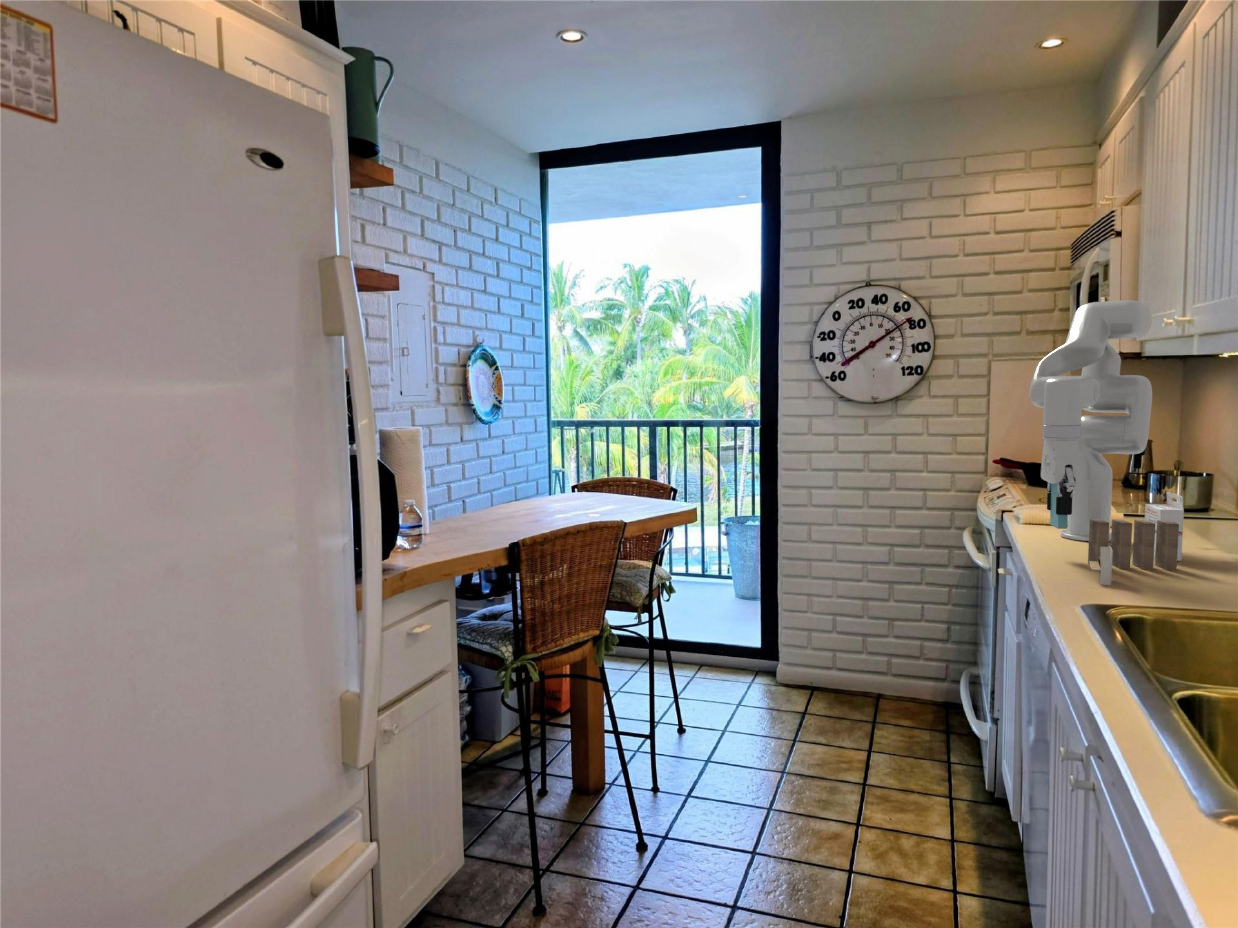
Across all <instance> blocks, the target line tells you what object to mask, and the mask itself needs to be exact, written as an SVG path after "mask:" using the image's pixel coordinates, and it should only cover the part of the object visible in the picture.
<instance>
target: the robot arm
mask: <svg viewBox="0 0 1238 928" xmlns="http://www.w3.org/2000/svg"><path fill="white" fill-rule="evenodd" d="M1152 323H1153V315H1152V311H1151V309H1150V307H1149V306H1148V305H1147V304H1146V303H1144V302H1141V301H1139V300H1133V299H1132V300H1131V299H1124V300H1120V299H1119V300H1107V301H1093V302H1088V303H1086V304H1082V305H1081V306H1079V307H1078V308H1077V309H1076V311H1075V313H1073V317H1072V320H1071V323H1070V326H1069V330H1068V334H1067V337H1066V339H1065V343H1064V344H1063V345H1061V346H1059V347H1057V348H1056V349H1054V350H1053V351H1051V352H1049V354H1047V355H1046V356H1045V357H1044V358H1042V359H1041V361H1040V362H1038V364H1037V365H1036V368H1035V371H1034V374H1033V377H1032V379H1031V381H1030V387H1029V400H1030V402H1031V403H1032V405H1034V406H1035V407H1036V408H1041V409H1043V418H1042V419H1043V420H1042V421H1043V422H1042V440H1043V445H1042V453H1041V463H1040V464H1041V466H1040V478H1041V480H1043V481H1046V484H1047V487H1046V488H1047V489H1046V492H1047V493H1046V494H1047V495H1046V497H1047V498H1046V510H1047V511H1050V510H1051V483H1052V484H1057V489H1058V497H1056V514H1057V515H1068V526H1067V529H1061V530H1060V536H1061V537H1062V538H1065V539H1069V540H1075V541H1083V542H1089V525H1090V519H1101V520H1103V521H1106V522H1108V523H1109V539H1108V542H1111V522H1112V519H1111V518H1112V517H1111V516H1112V498H1113V495H1112V494H1113V479H1114V477H1113V474H1114V473H1113V469H1112V467H1111V465H1110V463H1109V462H1108V461H1107V460H1106V458H1105V457H1104V456H1103V454H1106V455H1107V454H1110V455H1111V454H1115V455H1116V454H1117V455H1137V454H1141V453H1143V452H1144V451H1145V449H1147V445H1148V440H1149V433H1150V422H1151V412H1152V404H1153V388H1152V387H1153V386H1152V384H1151V381H1150V380H1149V378H1148V377H1146V376H1143V375H1137V374H1136V375H1135V374H1129V375H1128V374H1125V375H1124V374H1122V375H1121V367H1122V366H1121V365H1122V359H1121V356H1120V354H1119V353H1118V352H1117V351H1116V349H1115V348H1114V347H1113V345H1111V344H1110V343H1108V340H1114V339H1115V340H1117V339H1137V338H1143V337H1145V336H1147V335H1148V333H1149V332H1150V330H1151V328H1152ZM1080 369H1081V374H1080V375H1064V374H1067V373H1070V372H1073V371H1077V370H1080ZM1082 410H1083V411H1086V412H1092V413H1106V414H1107V413H1113V414H1114V413H1115V414H1116V413H1117V414H1118V413H1120V414H1123V413H1124V414H1127V415H1100V414H1099V415H1094V414H1093V415H1090V414H1089V415H1082ZM1061 482H1063V483H1061ZM1062 486H1066V487H1063V489H1062Z"/></svg>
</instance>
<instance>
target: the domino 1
mask: <svg viewBox="0 0 1238 928" xmlns="http://www.w3.org/2000/svg"><path fill="white" fill-rule="evenodd" d="M1061 483H1064V481H1063V482H1061ZM1063 487H1066V486H1062V489H1063ZM1056 497H1058V489H1057V484H1052V483H1051V510H1049V511H1050V512H1049V513H1050V515H1049V516H1050V517H1049V525H1050V526H1052V527H1054V528H1056V529H1061V530H1068V515H1057V514H1056Z"/></svg>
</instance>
